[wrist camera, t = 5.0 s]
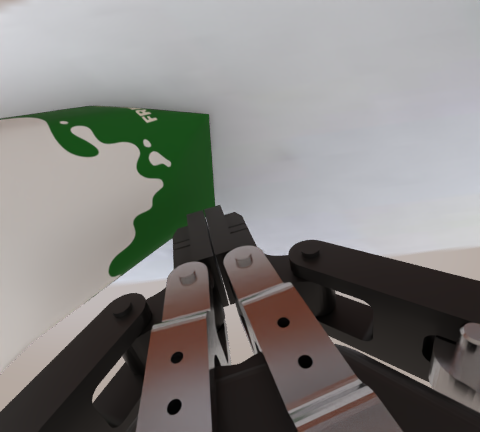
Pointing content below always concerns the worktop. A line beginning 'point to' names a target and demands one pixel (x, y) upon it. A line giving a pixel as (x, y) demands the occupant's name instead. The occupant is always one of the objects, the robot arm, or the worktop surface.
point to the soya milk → (89, 205)
